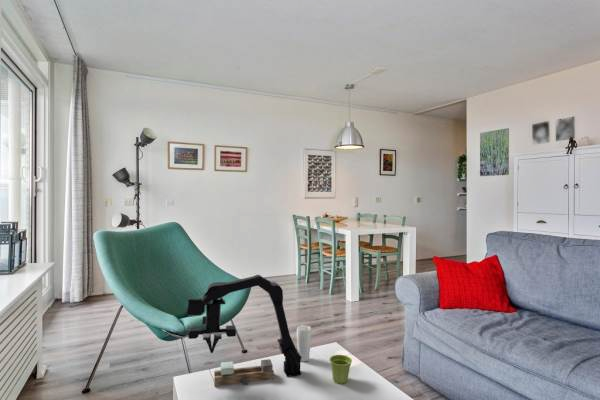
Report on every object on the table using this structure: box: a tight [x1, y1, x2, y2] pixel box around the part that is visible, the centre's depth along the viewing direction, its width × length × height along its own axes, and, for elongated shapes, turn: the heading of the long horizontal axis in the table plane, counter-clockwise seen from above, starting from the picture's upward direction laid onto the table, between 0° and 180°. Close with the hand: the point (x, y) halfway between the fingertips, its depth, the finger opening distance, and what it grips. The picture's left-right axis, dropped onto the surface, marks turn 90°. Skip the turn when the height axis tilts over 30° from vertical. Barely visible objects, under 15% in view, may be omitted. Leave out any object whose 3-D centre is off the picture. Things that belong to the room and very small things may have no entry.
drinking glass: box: [296, 324, 312, 363], centre depth 167 cm, size 7×7×15 cm
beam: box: [213, 358, 275, 387], centre depth 148 cm, size 24×9×6 cm, turn 104°
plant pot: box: [329, 354, 353, 385], centre depth 148 cm, size 9×9×9 cm
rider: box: [220, 361, 235, 375], centre depth 146 cm, size 5×6×4 cm
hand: (211, 352), depth 146 cm, fingers closed
